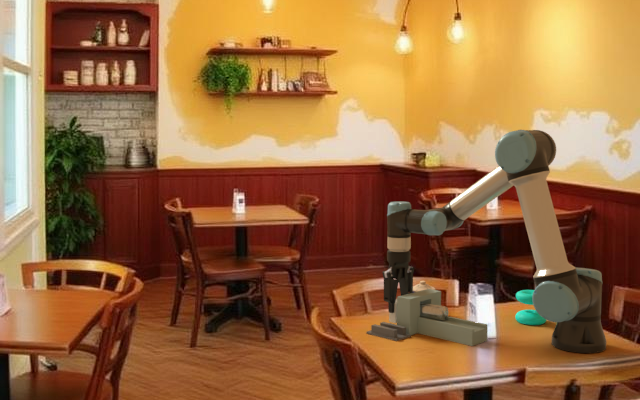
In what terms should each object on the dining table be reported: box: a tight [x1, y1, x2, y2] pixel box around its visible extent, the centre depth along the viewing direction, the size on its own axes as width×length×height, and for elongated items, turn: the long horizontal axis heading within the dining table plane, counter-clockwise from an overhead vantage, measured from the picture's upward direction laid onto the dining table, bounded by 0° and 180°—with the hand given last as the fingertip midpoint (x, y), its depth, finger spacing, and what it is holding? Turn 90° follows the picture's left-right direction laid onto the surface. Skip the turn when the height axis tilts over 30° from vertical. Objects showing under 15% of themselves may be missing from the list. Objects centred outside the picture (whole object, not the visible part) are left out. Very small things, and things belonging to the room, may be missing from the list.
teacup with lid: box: [413, 280, 437, 293], centre depth 261 cm, size 12×9×12 cm
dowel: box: [395, 298, 449, 321], centre depth 241 cm, size 20×4×4 cm, turn 48°
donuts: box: [514, 289, 547, 326], centre depth 249 cm, size 10×10×10 cm
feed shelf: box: [417, 315, 488, 347], centre depth 232 cm, size 20×8×5 cm, turn 45°
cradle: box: [365, 321, 412, 342], centre depth 234 cm, size 12×7×3 cm, turn 45°
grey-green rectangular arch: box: [396, 289, 442, 336], centre depth 241 cm, size 5×16×11 cm, turn 135°
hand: (398, 320), depth 247 cm, fingers closed on dowel, 4 cm apart
